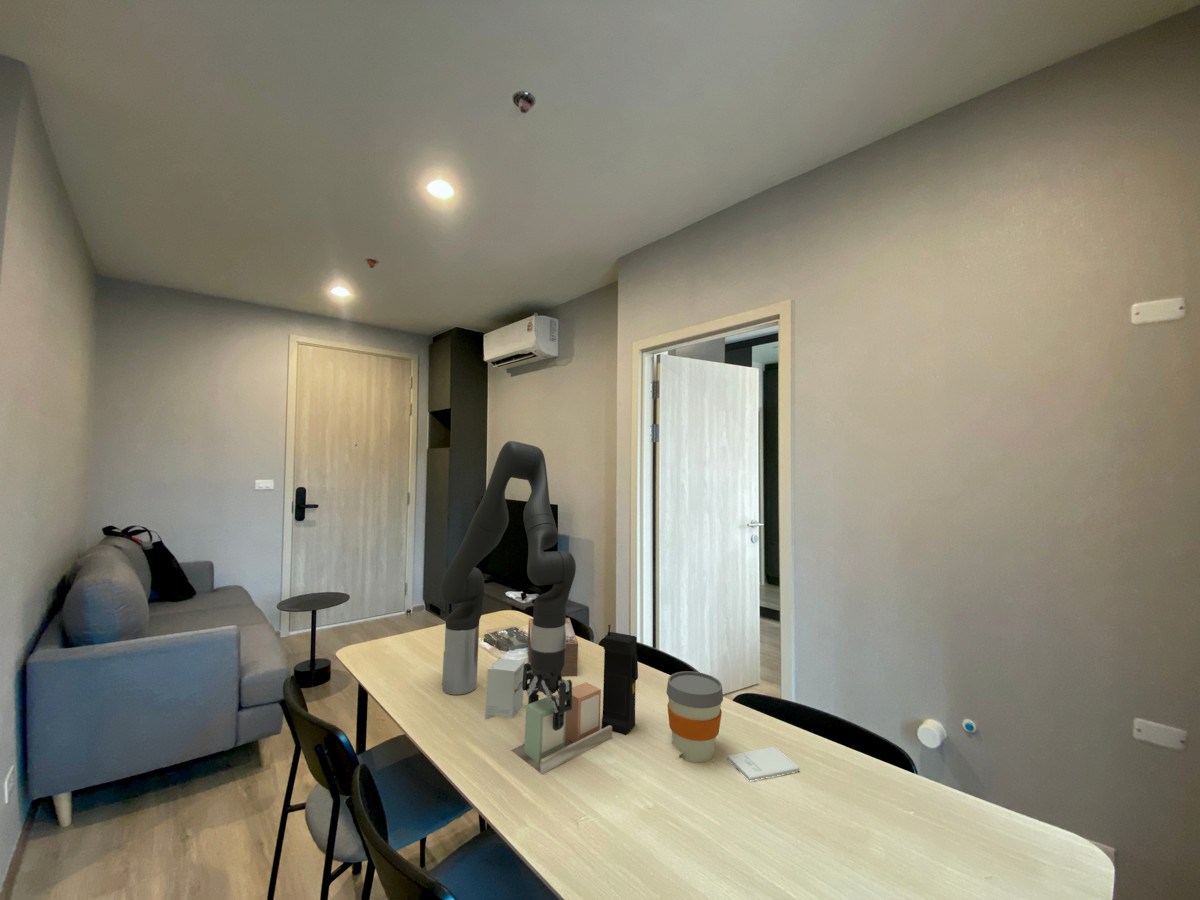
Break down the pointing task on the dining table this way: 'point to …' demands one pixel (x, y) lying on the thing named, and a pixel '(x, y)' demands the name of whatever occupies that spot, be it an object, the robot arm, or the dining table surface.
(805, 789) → the dining table surface
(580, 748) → the shallow tray
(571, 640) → the tissue box cover
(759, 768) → the external hard drive
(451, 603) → the robot arm
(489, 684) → the supplement box
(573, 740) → the terracotta tin
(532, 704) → the tea tin
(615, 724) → the portable radio
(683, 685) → the reusable coffee cup
